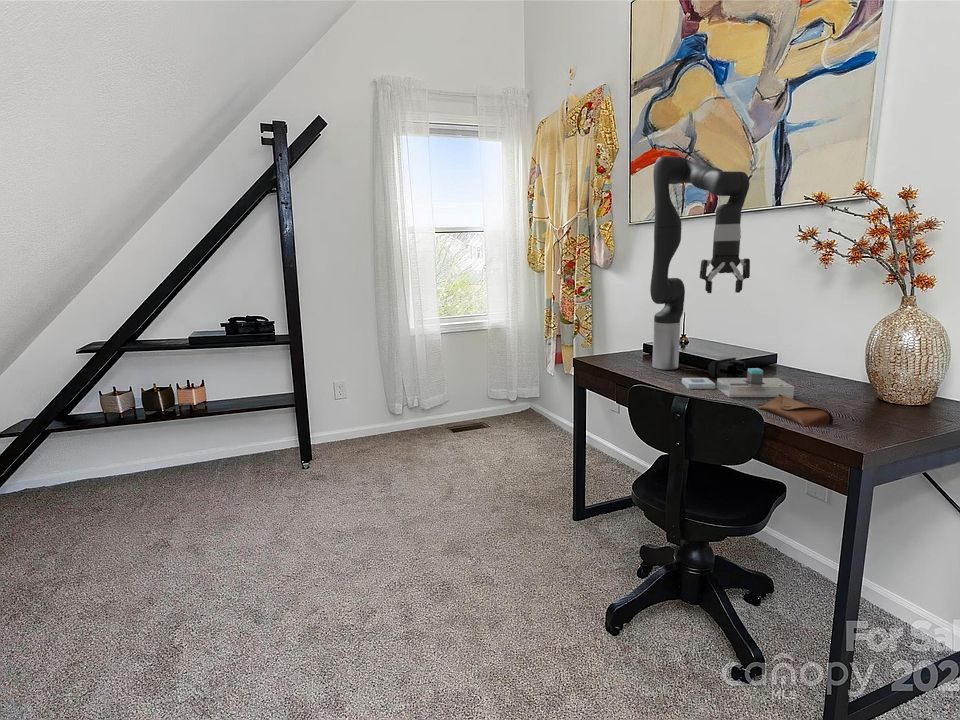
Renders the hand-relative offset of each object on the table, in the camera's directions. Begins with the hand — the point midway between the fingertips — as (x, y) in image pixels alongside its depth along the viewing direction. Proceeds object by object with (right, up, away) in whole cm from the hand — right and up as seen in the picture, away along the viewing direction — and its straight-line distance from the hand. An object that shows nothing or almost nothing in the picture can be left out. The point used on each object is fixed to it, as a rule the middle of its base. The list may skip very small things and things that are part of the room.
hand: (723, 292), depth 169 cm
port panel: (+7, -32, -5) cm, 33 cm away
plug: (+7, -31, -6) cm, 32 cm away
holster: (-6, -30, +4) cm, 31 cm away
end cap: (+8, -28, +15) cm, 33 cm away
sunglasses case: (+7, -37, -25) cm, 45 cm away
